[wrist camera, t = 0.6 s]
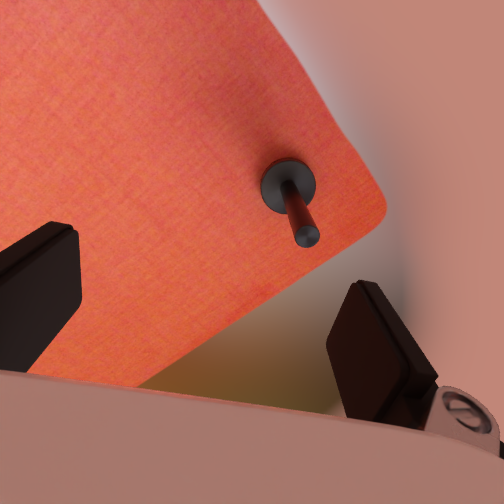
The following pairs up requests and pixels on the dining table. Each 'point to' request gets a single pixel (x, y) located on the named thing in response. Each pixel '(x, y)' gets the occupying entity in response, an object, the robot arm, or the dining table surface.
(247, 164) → the dining table surface
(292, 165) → the black plunger
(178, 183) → the dining table surface
